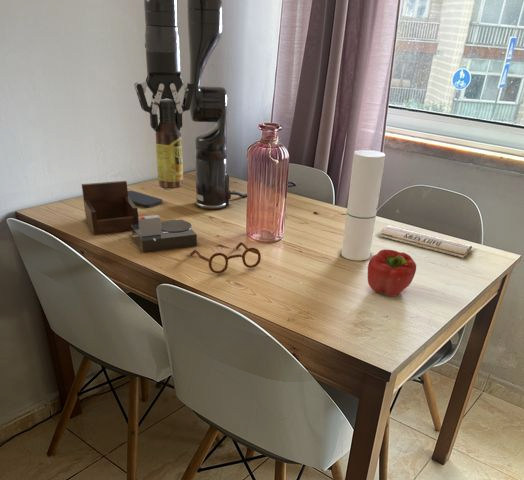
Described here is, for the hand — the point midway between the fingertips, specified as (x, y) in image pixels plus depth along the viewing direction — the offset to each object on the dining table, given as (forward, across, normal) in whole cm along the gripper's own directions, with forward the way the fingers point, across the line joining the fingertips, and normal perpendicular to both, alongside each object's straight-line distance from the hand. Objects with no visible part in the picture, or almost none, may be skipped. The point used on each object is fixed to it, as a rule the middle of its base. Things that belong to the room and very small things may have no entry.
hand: (166, 129), depth 131 cm
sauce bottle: (+14, 0, 0) cm, 14 cm away
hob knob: (+24, -7, -5) cm, 25 cm away
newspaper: (+27, +63, -26) cm, 73 cm away
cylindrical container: (+27, +40, -27) cm, 55 cm away
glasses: (+27, +7, -20) cm, 34 cm away
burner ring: (+24, 0, -1) cm, 24 cm away
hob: (+27, -3, -2) cm, 27 cm away
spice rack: (+27, -13, +14) cm, 33 cm away
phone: (+27, -1, +33) cm, 42 cm away
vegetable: (+27, +35, -48) cm, 65 cm away
